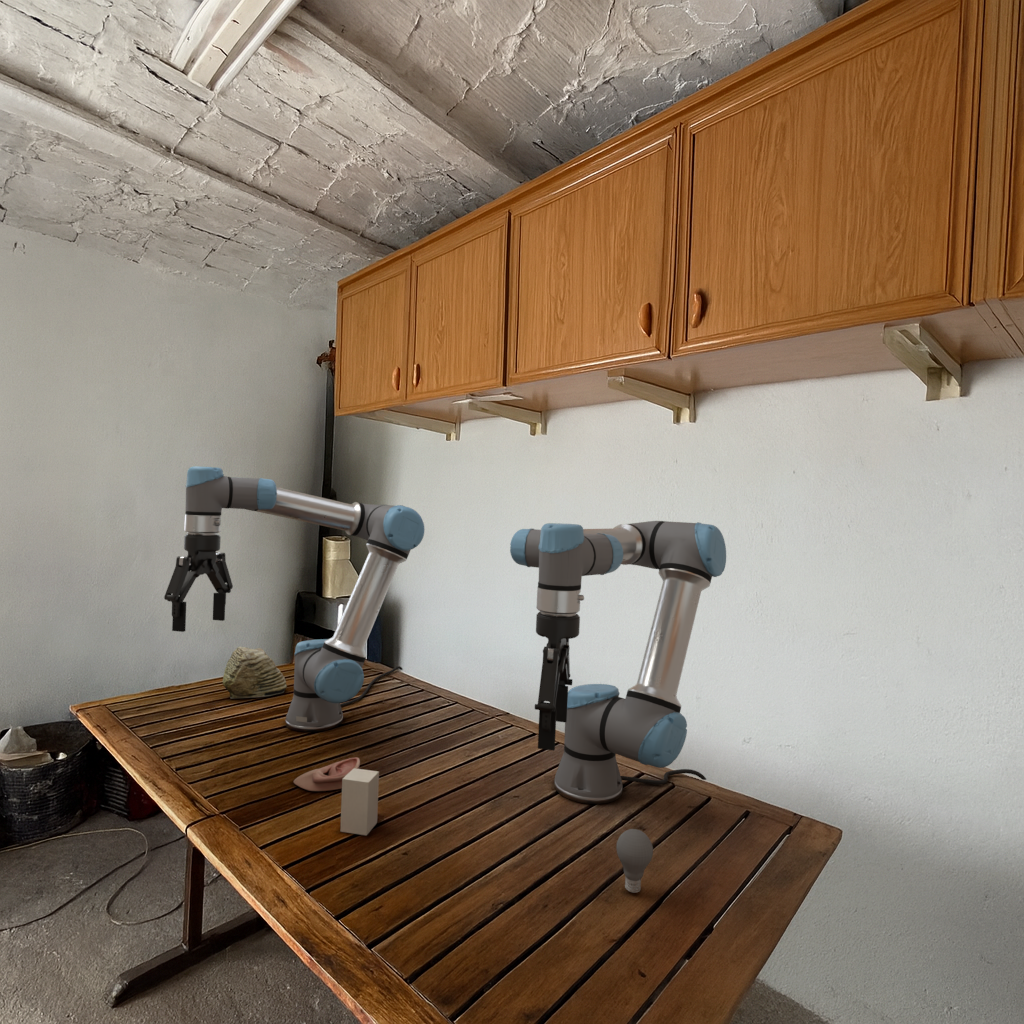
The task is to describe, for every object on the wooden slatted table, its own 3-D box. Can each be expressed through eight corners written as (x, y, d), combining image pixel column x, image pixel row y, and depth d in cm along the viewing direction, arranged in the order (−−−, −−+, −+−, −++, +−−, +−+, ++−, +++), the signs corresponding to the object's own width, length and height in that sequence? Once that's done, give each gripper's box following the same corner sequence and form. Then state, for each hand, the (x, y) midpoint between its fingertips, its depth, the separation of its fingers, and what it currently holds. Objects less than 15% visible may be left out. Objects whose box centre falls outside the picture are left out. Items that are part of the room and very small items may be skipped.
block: (340, 831, 120) (342, 778, 120) (351, 818, 125) (353, 768, 125) (366, 835, 119) (368, 782, 119) (377, 822, 124) (379, 771, 124)
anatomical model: (286, 769, 137) (313, 749, 148) (285, 787, 137) (312, 766, 148) (343, 777, 134) (366, 756, 145) (342, 796, 134) (365, 773, 145)
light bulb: (610, 879, 108) (613, 822, 108) (644, 879, 109) (647, 822, 109) (619, 902, 102) (622, 840, 102) (655, 901, 103) (658, 840, 103)
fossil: (218, 695, 195) (220, 647, 195) (278, 685, 208) (279, 640, 207) (228, 703, 189) (230, 653, 188) (289, 692, 201) (290, 645, 201)
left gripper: (178, 537, 133) (175, 637, 133) (249, 532, 157) (246, 617, 158) (147, 535, 134) (144, 634, 135) (222, 530, 159) (219, 614, 159)
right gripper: (569, 628, 97) (563, 765, 97) (587, 603, 121) (583, 713, 121) (521, 624, 98) (516, 759, 99) (549, 600, 123) (544, 708, 123)
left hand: (199, 625), depth 146 cm, fingers open, 13 cm apart
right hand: (553, 734), depth 110 cm, fingers open, 13 cm apart
